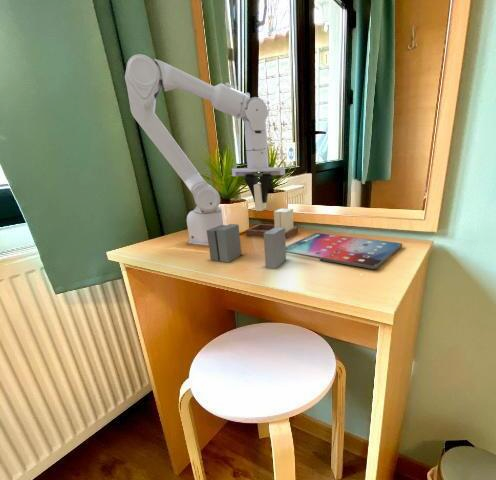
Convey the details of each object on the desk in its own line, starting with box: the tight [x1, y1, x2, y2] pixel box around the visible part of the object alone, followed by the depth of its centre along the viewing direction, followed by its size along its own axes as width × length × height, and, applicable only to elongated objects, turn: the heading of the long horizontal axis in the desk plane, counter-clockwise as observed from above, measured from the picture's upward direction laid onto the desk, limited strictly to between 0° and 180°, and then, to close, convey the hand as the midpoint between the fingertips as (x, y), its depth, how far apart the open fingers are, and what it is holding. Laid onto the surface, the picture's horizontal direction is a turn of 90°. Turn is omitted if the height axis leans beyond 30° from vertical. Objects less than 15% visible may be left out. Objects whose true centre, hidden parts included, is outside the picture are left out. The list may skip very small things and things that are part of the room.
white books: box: [273, 208, 294, 233], centre depth 87 cm, size 4×5×7 cm
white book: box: [254, 182, 267, 212], centre depth 85 cm, size 2×5×7 cm, turn 169°
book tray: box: [245, 223, 299, 240], centre depth 90 cm, size 13×8×2 cm, turn 66°
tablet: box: [286, 232, 403, 270], centre depth 75 cm, size 19×25×1 cm
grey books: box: [207, 223, 287, 270], centre depth 69 cm, size 17×6×8 cm, turn 66°
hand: (260, 202), depth 86 cm, fingers closed on white book, 2 cm apart
